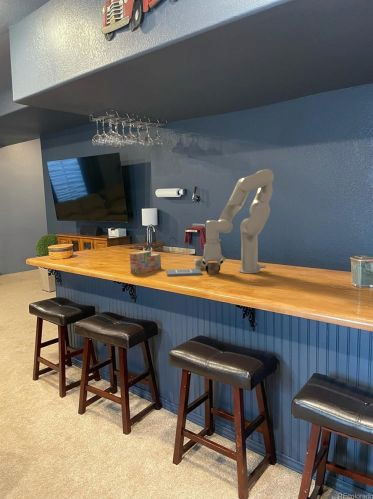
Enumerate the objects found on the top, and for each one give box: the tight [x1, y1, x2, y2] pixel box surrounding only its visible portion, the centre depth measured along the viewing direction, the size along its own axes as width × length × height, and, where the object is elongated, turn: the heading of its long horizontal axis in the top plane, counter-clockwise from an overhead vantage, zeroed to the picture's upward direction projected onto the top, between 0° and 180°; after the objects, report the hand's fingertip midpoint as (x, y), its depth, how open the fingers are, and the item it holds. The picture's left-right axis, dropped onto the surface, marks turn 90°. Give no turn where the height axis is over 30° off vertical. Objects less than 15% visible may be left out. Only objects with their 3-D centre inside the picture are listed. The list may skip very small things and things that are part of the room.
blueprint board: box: [166, 268, 203, 277], centre depth 222 cm, size 20×14×1 cm
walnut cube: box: [207, 261, 220, 275], centre depth 220 cm, size 6×6×6 cm
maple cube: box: [193, 258, 206, 271], centre depth 234 cm, size 6×6×6 cm
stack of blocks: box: [129, 250, 162, 275], centre depth 232 cm, size 21×6×12 cm, turn 143°
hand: (212, 271), depth 220 cm, fingers closed on walnut cube, 6 cm apart
